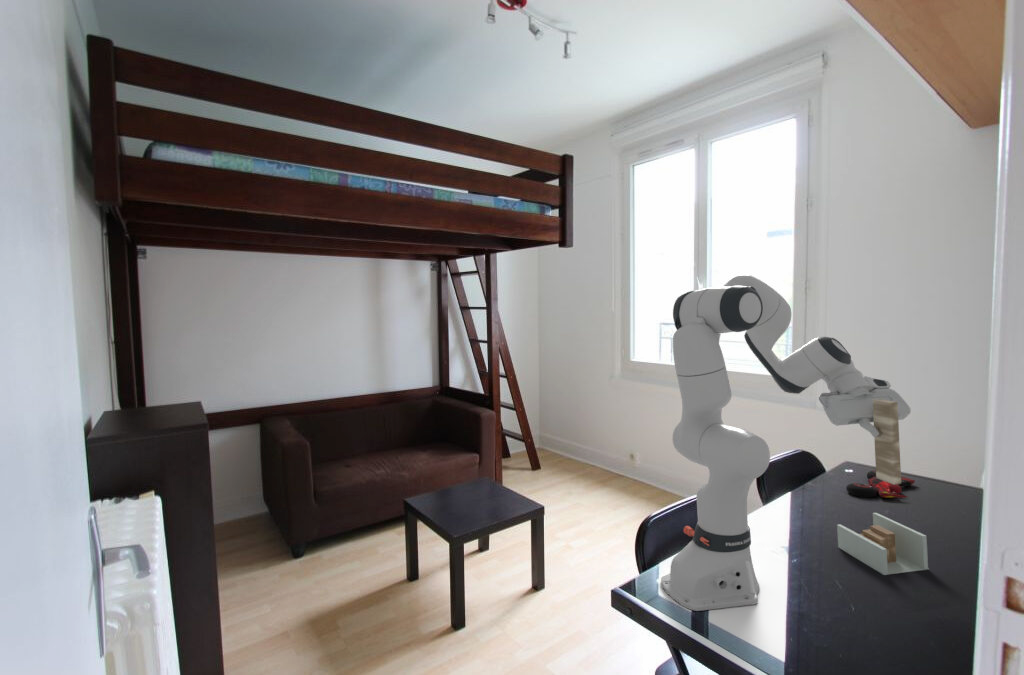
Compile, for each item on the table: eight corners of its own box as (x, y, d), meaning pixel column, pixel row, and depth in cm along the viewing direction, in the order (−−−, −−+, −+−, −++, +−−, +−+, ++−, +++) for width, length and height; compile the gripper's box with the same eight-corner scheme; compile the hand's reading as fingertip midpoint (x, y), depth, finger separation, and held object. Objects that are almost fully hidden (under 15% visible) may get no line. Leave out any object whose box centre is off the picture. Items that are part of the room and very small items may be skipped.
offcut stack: (875, 565, 116) (873, 537, 116) (855, 553, 122) (853, 526, 122) (898, 562, 116) (896, 534, 116) (877, 551, 122) (875, 524, 122)
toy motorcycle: (844, 499, 163) (901, 504, 150) (840, 483, 163) (897, 487, 150) (873, 482, 177) (928, 486, 164) (870, 468, 177) (924, 470, 164)
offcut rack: (884, 581, 112) (882, 541, 112) (838, 552, 126) (836, 517, 125) (929, 575, 113) (927, 535, 113) (879, 547, 127) (877, 512, 126)
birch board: (893, 484, 116) (889, 402, 116) (876, 478, 121) (872, 399, 121) (901, 483, 116) (897, 402, 116) (883, 477, 121) (879, 399, 121)
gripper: (821, 386, 125) (852, 431, 116) (893, 380, 127) (930, 424, 117) (810, 400, 130) (839, 445, 120) (880, 394, 131) (914, 438, 122)
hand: (885, 435), depth 119 cm, fingers closed on birch board, 2 cm apart
